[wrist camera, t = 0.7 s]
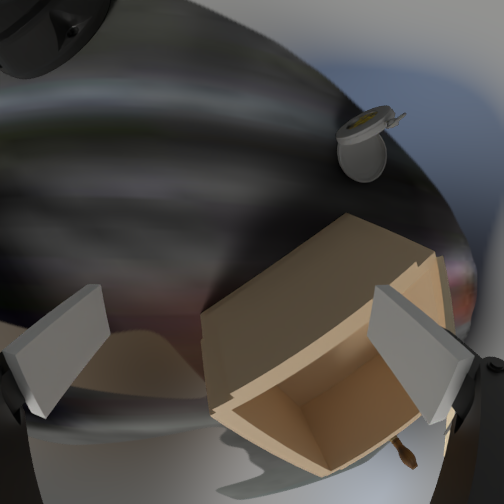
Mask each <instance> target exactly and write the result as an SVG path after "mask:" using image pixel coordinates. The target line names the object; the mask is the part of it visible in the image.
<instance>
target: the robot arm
mask: <svg viewBox="0 0 504 504" xmlns="http://www.w3.org/2000/svg"><path fill="white" fill-rule="evenodd" d="M109 5H110V0H0V70H1V71H2V72H3V73H5V74H7V75H10V76H12V77H15V78H19V79H31V78H35V77H39V76H41V75H44V74H46V73H48V72H50V71H52V70H54V69H56V68H57V67H59V66H61V65H62V64H63V63H65V62H66V61H68V60H69V59H70V58H71V57H73V56H74V55H75V54H76V53H77V52H78V51H79V50H80V49H81V48H82V47H83V46H84V45H85V44H86V43H87V42H88V41H89V40H90V39H91V38H92V36H93V35H94V34H95V32H96V31H97V30H98V28H99V27H100V25H101V23H102V22H103V20H104V18H105V16H106V14H107V11H108V8H109ZM109 336H110V330H109V325H108V321H107V316H106V311H105V306H104V301H103V295H102V289H101V285H97V284H88V285H86V286H85V287H83V288H82V289H81V290H79V291H78V292H76V293H75V294H74V295H72V296H71V297H70V298H68V299H67V300H66V301H64V302H63V303H61V304H60V305H59V306H57V307H56V308H55V309H53V310H52V311H51V312H50V313H48V314H47V315H46V316H44V317H43V318H42V319H40V320H39V321H38V322H37V323H35V324H34V325H33V326H31V327H30V328H29V329H28V330H26V331H25V332H24V333H23V334H21V335H20V336H19V337H18V338H17V339H15V340H14V341H13V342H12V343H10V344H9V345H8V346H7V347H6V348H5V349H3V350H2V352H1V353H0V504H43V502H42V498H41V495H40V491H39V488H38V484H37V480H36V476H35V472H34V468H33V463H32V458H31V453H30V447H29V442H28V435H27V427H26V419H25V412H24V410H23V408H22V406H21V405H22V404H23V403H24V402H25V401H26V403H27V405H28V407H29V409H30V410H31V412H32V413H34V414H36V415H38V416H41V417H43V418H47V416H48V415H49V413H50V412H51V411H52V409H53V408H54V407H55V405H56V404H57V402H58V401H59V400H60V398H61V397H62V396H63V394H64V393H65V392H66V390H67V389H68V388H69V386H70V385H71V384H72V382H73V381H74V380H75V378H76V377H77V376H78V375H79V373H80V372H81V370H82V369H83V368H84V367H85V366H86V364H87V363H88V362H89V360H90V359H91V358H92V357H93V355H94V354H95V353H96V352H97V350H98V349H99V348H100V347H101V345H102V344H103V343H104V342H105V341H106V339H107V338H108V337H109ZM367 337H368V338H369V340H370V341H371V342H372V344H373V345H374V347H375V348H376V349H377V351H378V352H379V354H380V355H381V356H382V358H383V359H384V361H385V362H386V363H387V365H388V366H389V368H390V369H391V370H392V372H393V373H394V375H395V376H396V378H397V379H398V380H399V382H400V383H401V385H402V386H403V388H404V389H405V391H406V392H407V393H408V395H409V396H410V398H411V399H412V401H413V402H414V404H415V405H416V407H417V408H418V410H419V411H420V413H421V414H422V416H423V417H424V419H425V420H426V422H427V423H428V425H431V424H434V423H436V422H439V421H442V420H444V419H445V418H446V416H447V415H448V413H449V411H450V409H451V407H452V408H453V409H454V410H455V411H456V414H455V416H454V417H453V419H452V421H451V422H450V424H449V426H448V427H447V429H446V431H445V433H444V435H447V433H448V431H449V430H450V435H449V440H448V444H447V449H446V453H445V457H444V461H443V465H442V468H441V471H440V475H439V478H438V482H437V485H436V488H435V491H434V493H433V496H432V499H431V502H430V504H504V361H503V360H501V359H499V358H496V357H486V358H483V359H482V358H481V357H480V356H478V354H476V353H475V352H474V351H473V350H472V349H470V348H469V347H468V346H467V345H466V344H465V343H464V344H463V341H461V340H460V339H459V338H458V339H457V336H456V335H454V334H453V333H452V332H451V331H449V330H447V329H445V328H443V327H441V326H440V325H439V324H437V323H436V322H435V321H434V320H433V319H431V318H430V317H429V316H428V315H426V314H425V313H424V312H423V311H422V310H420V309H419V308H418V307H417V306H415V305H414V304H413V303H412V302H410V301H409V300H408V299H407V298H405V297H404V296H403V295H402V294H400V293H399V292H398V291H396V290H395V289H394V288H393V287H391V286H390V285H375V291H374V297H373V304H372V310H371V315H370V321H369V326H368V331H367Z"/></svg>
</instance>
